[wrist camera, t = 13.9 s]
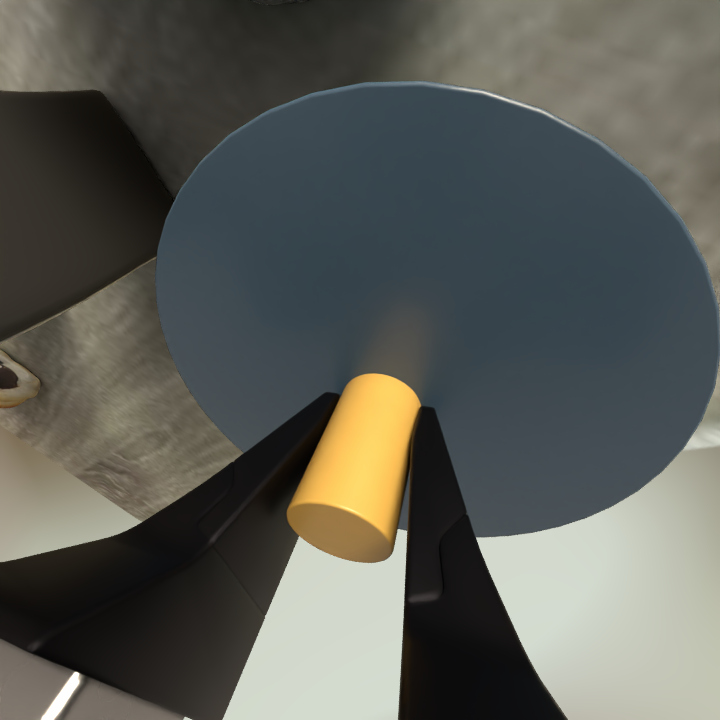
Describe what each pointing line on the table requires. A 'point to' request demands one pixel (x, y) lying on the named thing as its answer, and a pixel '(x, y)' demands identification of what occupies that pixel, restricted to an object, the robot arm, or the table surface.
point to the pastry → (15, 382)
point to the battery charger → (69, 204)
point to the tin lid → (439, 306)
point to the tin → (276, 1)
